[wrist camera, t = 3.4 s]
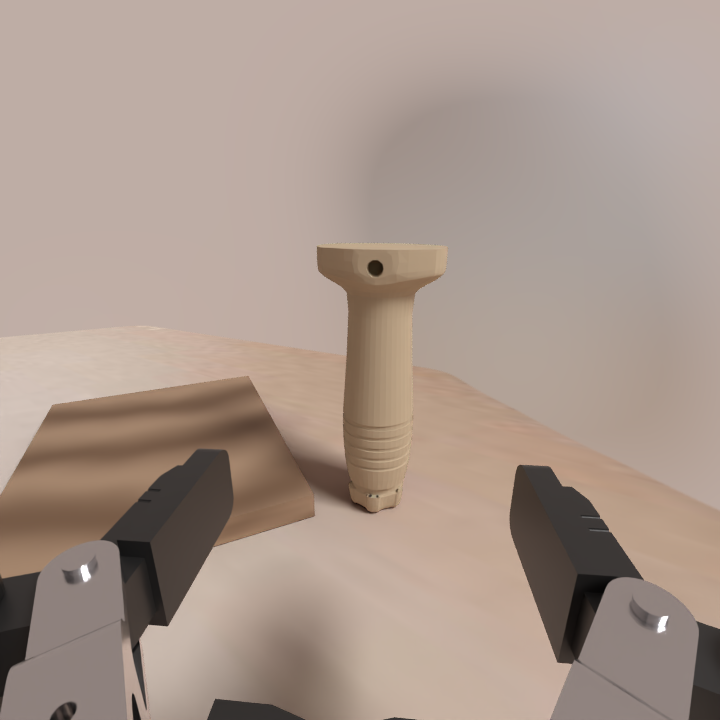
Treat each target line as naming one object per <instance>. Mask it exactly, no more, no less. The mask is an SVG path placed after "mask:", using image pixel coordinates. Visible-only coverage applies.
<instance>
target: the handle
mask: <svg viewBox="0 0 720 720" xmlns="http://www.w3.org/2000/svg"><path fill="white" fill-rule="evenodd" d="M447 252H448V247H446V246H441V245H424V244H393V243H336V244H323V245H318V246H317V262H318V270H319V272H320V273H321V274H323V275H324V276H325V277H326V278H328V279H330V280H331V281H333V282H335V283H337V284H338V285H340V286H341V287H342V288H343V289H344V290H345V291H346V292H347V300H348V311H349V313H348V337H347V360H346V375H345V391H344V407H343V412H344V413H343V423H344V424H343V432H344V447H345V457H346V464H347V469H348V473H349V477H350V478H351V482H349V491H350V496H351V499H352V501H353V502H354V503H358V504H361V505H363V506H364V507H366V508H367V510H368V511H370V512H379V511H380V510H382V509H384V508H389V507H396V506H397V505H398V504H399V503H400V500H401V496H402V486H403V479H404V477H405V473H406V470H407V465H408V460H409V454H410V448H411V447H410V446H411V440H412V425H413V379H412V311H413V304H414V297H415V293H416V292H417V291H418V290H419V289H420V288H422V287H423V286H425V285H427V284H429V283H431V282H433V281H435V280H436V279H438V278H439V277H440V276H442V275H443V274H444V273H445V270H446V263H447Z"/></svg>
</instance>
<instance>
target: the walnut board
mask: <svg viewBox="0 0 720 720" xmlns="http://www.w3.org/2000/svg"><path fill="white" fill-rule="evenodd" d="M199 448H202V449H222V450H226V451H227V452H228V455H229V461H230V470H231V478H232V486H233V495H234V501H233V508H232V512H231V515H230V518H229V520H228V522H227V523H226V525H225V527H224V529H223V530H222V532H221V534H220V536H219V537H218V539H217V541H216V543H215V544H214V546H218V545H221V544H224V543H227V542H231V541H234V540H237V539H241V538H244V537H247V536H250V535H254V534H257V533H260V532H264V531H267V530H270V529H273V528H277V527H280V526H283V525H287V524H290V523H293V522H296V521H300V520H303V519H306V518H310V517H313V516H315V512H314V494H313V492H312V490H311V488H310V487H309V485H308V483H307V481H306V479H305V478H304V476H303V474H302V472H301V470H300V468H299V467H298V465H297V463H296V461H295V459H294V458H293V456H292V454H291V452H290V450H289V449H288V447H287V445H286V443H285V441H284V440H283V438H282V436H281V434H280V432H279V430H278V429H277V427H276V425H275V423H274V421H273V420H272V418H271V416H270V414H269V412H268V411H267V409H266V407H265V405H264V403H263V402H262V400H261V398H260V396H259V394H258V393H257V391H256V389H255V387H254V385H253V383H252V382H251V380H250V378H249V376H244V377H237V378H231V379H224V380H217V381H210V382H204V383H197V384H190V385H183V386H177V387H170V388H163V389H156V390H150V391H143V392H136V393H129V394H123V395H116V396H109V397H102V398H96V399H89V400H82V401H75V402H69V403H62V404H55V405H52V407H51V409H50V410H49V412H48V414H47V416H46V417H45V419H44V421H43V423H42V424H41V426H40V428H39V430H38V431H37V433H36V435H35V436H34V438H33V440H32V442H31V443H30V445H29V447H28V449H27V450H26V452H25V454H24V456H23V457H22V459H21V461H20V463H19V464H18V466H17V468H16V470H15V471H14V473H13V475H12V476H11V478H10V480H9V482H8V483H7V485H6V487H5V489H4V490H3V492H2V494H1V496H0V575H1V577H2V578H8V577H13V576H19V575H24V574H30V573H35V572H41V571H42V570H43V569H44V567H45V566H46V565H47V564H48V563H49V562H50V561H51V560H53V559H54V558H55V557H56V556H58V555H59V554H61V553H62V552H64V551H66V550H68V549H70V548H72V547H74V546H77V545H79V544H82V543H86V542H90V541H97V540H100V539H101V538H102V537H103V536H104V535H105V534H106V533H107V532H108V531H109V530H110V529H111V528H112V527H113V526H114V524H115V523H116V522H117V521H118V520H119V519H120V518H121V517H122V516H123V515H124V514H125V513H126V512H127V511H128V510H129V508H130V507H131V506H132V505H133V504H134V503H135V502H138V499H139V498H140V497H141V496H142V495H143V494H144V492H145V491H148V488H149V487H150V486H151V485H152V484H153V483H154V482H155V481H156V480H157V479H158V478H159V477H160V476H161V475H162V474H164V473H166V472H167V471H169V470H170V469H172V468H174V467H175V466H177V465H183V464H184V463H185V462H186V461H187V460H188V459H189V458H190V456H191V455H192V454H193V453H194V452H195V451H196V450H197V449H199ZM214 546H213V547H214Z"/></svg>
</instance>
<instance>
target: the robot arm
mask: <svg viewBox="0 0 720 720" xmlns="http://www.w3.org/2000/svg"><path fill="white" fill-rule="evenodd" d="M233 501H234V495H233V486H232V478H231V470H230V461H229V455H228V452H227V451H226V450H222V449H202V448H199V449H197V450H196V451H195V452H194V453H193V454H192V455H191V456H190V458H189V459H188V460H187V461H186V462H185V463H184V464H183V465H177V466H175V467H174V468H172V469H170V470H169V471H167V472H166V473H164V474H162V475H161V476H160V477H159V478H158V479H157V480H156V481H155V482H154V483H153V484H152V485H151V486H150V487H149V488H148V491H145V492H144V494H143V495H142V496H141V497H140V498H139V499H138V502H135V503H134V504H133V505H132V506H131V507H130V508H129V510H128V511H127V512H126V513H125V514H124V515H123V516H122V517H121V518H120V519H119V520H118V521H117V522H116V523H115V524H114V526H113V527H112V528H111V529H110V530H109V531H108V532H107V533H106V534H105V535H104V536H103V537H102V538H101V539H100V540H97V541H90V542H86V543H82V544H79V545H77V546H74V547H72V548H70V549H68V550H66V551H64V552H62V553H61V554H59V555H58V556H56V557H55V558H54V559H53V560H51V561H50V562H49V563H48V564H47V565H46V566H45V567H44V569H43V570H42V571H41V572H35V573H30V574H24V575H19V576H13V577H8V578H2V577H1V575H0V720H151V717H150V709H149V700H148V692H147V683H146V675H145V666H144V658H143V649H142V644H141V639H140V637H141V636H142V634H143V632H144V631H145V629H146V628H147V626H148V625H159V626H168V625H169V623H170V622H171V620H172V618H173V616H174V615H175V613H176V611H177V609H178V608H179V606H180V604H181V602H182V601H183V599H184V597H185V595H186V594H187V592H188V590H189V588H190V587H191V585H192V583H193V581H194V579H195V578H196V576H197V574H198V572H199V571H200V569H201V567H202V565H203V564H204V562H205V560H206V558H207V557H208V555H209V553H210V551H211V550H212V548H213V546H214V544H215V543H216V541H217V539H218V537H219V536H220V534H221V532H222V530H223V529H224V527H225V525H226V523H227V522H228V520H229V518H230V515H231V512H232V508H233ZM510 529H511V535H512V538H513V541H514V544H515V547H516V549H517V552H518V555H519V558H520V560H521V563H522V566H523V569H524V571H525V574H526V577H527V580H528V582H529V585H530V588H531V591H532V593H533V596H534V599H535V602H536V604H537V607H538V610H539V613H540V616H541V618H542V621H543V624H544V627H545V629H546V632H547V635H548V638H549V640H550V643H551V646H552V649H553V651H554V654H555V657H556V660H557V662H558V663H569V664H572V666H571V669H570V671H569V674H568V676H567V679H566V681H565V684H564V686H563V689H562V691H561V694H560V696H559V699H558V701H557V704H556V706H555V709H554V711H553V714H552V716H551V719H550V720H720V629H718V628H715V627H712V626H708V625H706V624H703V623H700V622H698V621H696V620H695V618H694V617H693V615H692V614H691V612H690V611H689V610H688V609H687V608H686V606H685V605H684V604H683V603H682V602H680V601H679V600H678V599H677V598H676V597H674V596H673V595H672V594H670V593H669V592H667V591H666V590H664V589H662V588H660V587H659V586H657V585H654V584H652V583H650V582H647V581H644V579H643V578H642V577H641V575H640V574H639V572H638V571H637V569H636V568H635V566H634V565H633V563H632V562H631V561H630V559H629V558H628V556H627V555H626V553H625V552H624V550H623V549H622V547H621V546H620V545H619V543H618V542H617V540H616V539H615V537H614V536H613V534H612V533H611V532H609V529H608V527H607V526H606V524H605V523H604V521H603V520H602V519H600V515H599V514H598V513H597V511H596V510H595V508H594V507H593V505H592V504H591V502H590V501H589V500H588V499H587V498H585V497H584V496H583V495H581V494H580V493H579V492H578V491H576V490H575V489H574V488H572V487H563V486H562V485H561V484H560V482H559V480H558V479H557V477H556V475H555V474H554V472H553V471H552V469H551V468H550V467H549V466H532V465H519V466H518V467H517V470H516V474H515V481H514V488H513V495H512V502H511V509H510ZM207 720H305V719H303V718H300V717H298V716H296V715H294V714H291V713H289V712H287V711H285V710H283V709H280V708H278V707H276V706H274V705H269V704H259V703H249V702H240V701H230V700H220V699H215V701H214V703H213V706H212V709H211V711H210V714H209V716H208V719H207ZM385 720H415V719H405V718H395V717H394V718H389V719H385Z"/></svg>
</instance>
